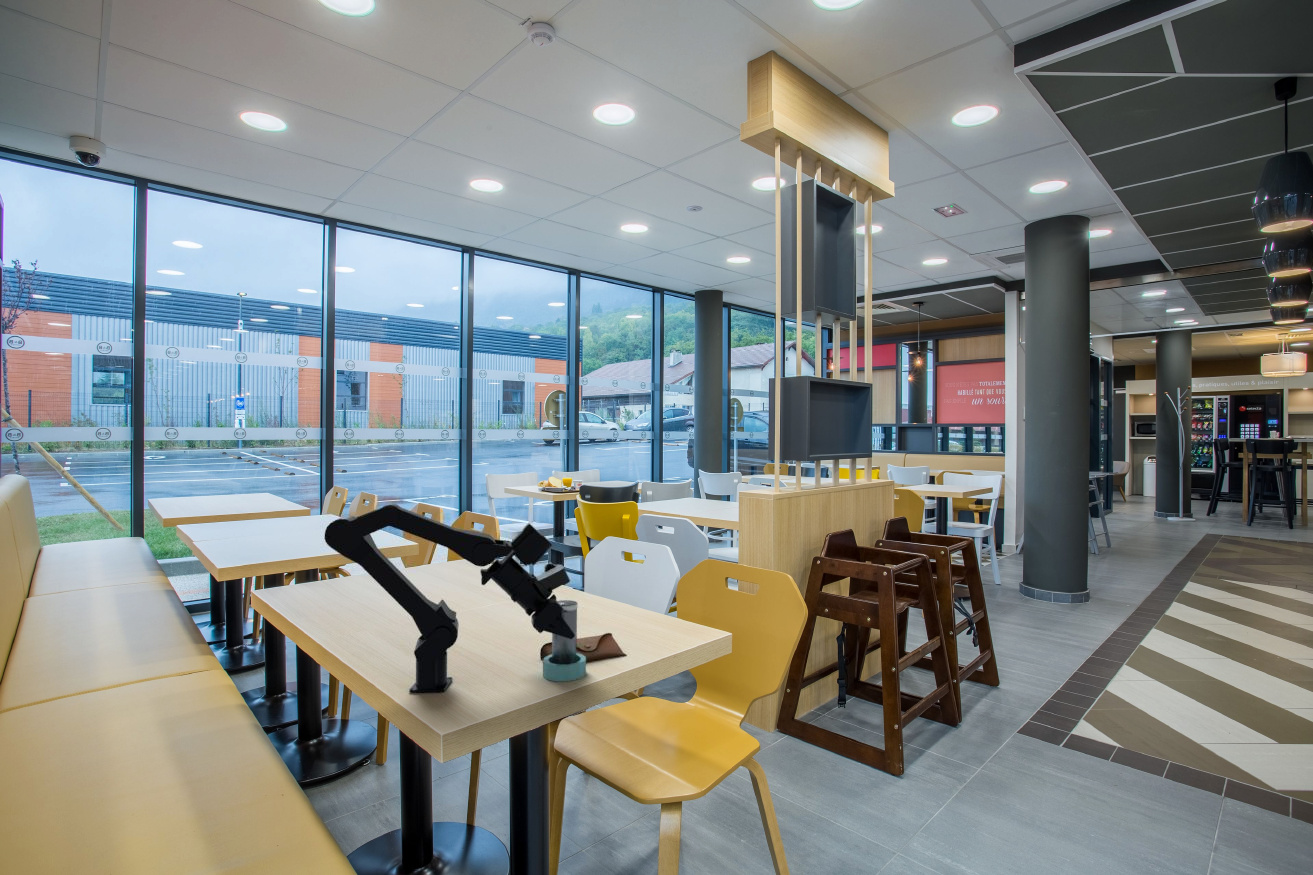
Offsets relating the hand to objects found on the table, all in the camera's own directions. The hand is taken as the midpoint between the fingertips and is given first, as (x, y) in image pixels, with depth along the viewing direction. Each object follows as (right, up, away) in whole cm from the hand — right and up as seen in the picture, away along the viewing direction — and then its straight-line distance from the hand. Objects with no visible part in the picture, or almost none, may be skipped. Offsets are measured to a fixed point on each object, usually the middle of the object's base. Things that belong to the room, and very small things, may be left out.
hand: (571, 633), depth 130 cm
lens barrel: (-1, -7, -1) cm, 7 cm away
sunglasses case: (+2, -9, +10) cm, 14 cm away
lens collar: (-1, -8, -1) cm, 8 cm away
